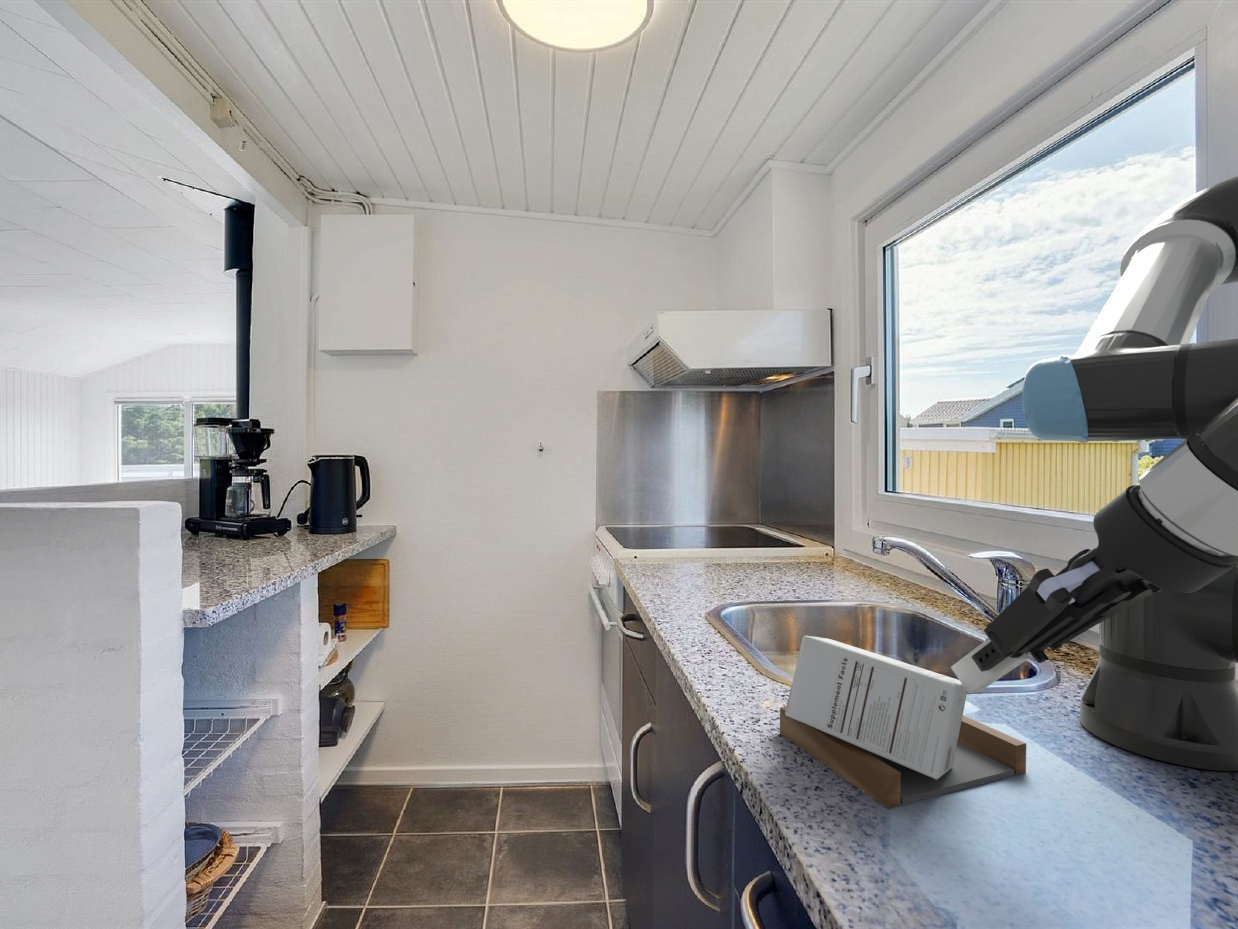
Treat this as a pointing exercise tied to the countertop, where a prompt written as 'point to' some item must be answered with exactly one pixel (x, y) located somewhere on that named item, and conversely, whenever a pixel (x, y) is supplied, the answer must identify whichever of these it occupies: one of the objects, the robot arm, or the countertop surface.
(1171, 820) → the countertop surface
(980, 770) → the mat
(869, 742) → the supplement box
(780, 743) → the countertop surface
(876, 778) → the rails
